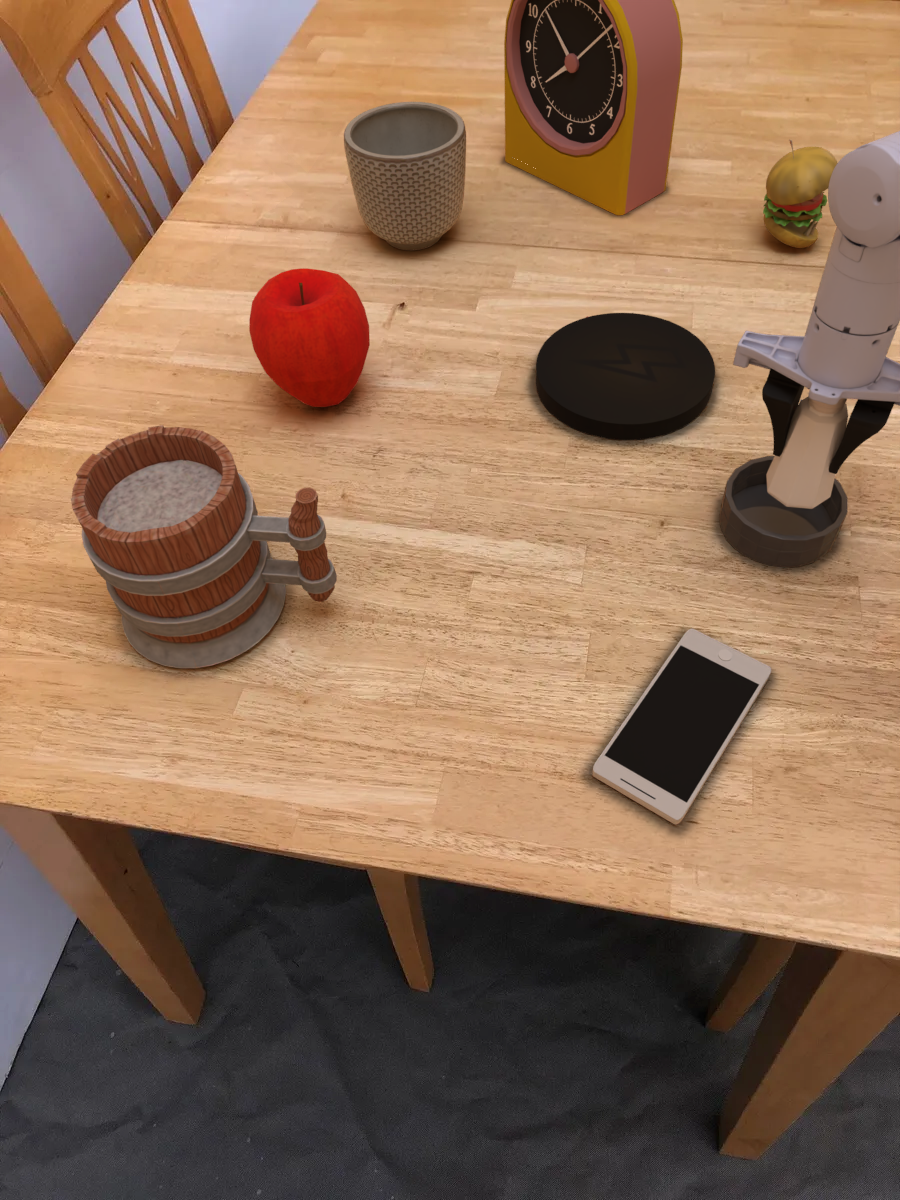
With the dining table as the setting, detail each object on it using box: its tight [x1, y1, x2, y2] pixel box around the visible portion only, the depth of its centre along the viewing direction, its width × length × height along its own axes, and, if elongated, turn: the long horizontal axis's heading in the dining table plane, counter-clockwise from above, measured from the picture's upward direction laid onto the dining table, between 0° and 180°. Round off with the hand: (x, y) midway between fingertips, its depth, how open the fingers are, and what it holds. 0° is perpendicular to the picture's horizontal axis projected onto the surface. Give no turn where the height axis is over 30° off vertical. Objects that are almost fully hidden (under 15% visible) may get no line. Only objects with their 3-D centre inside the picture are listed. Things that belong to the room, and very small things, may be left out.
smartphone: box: [591, 628, 772, 825], centre depth 69 cm, size 7×16×1 cm, turn 144°
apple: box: [248, 267, 371, 408], centre depth 91 cm, size 12×12×13 cm
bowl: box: [718, 455, 849, 568], centre depth 80 cm, size 10×10×4 cm
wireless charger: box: [535, 312, 716, 441], centre depth 94 cm, size 18×18×2 cm
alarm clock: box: [503, 0, 684, 216], centre depth 111 cm, size 21×9×26 cm, turn 42°
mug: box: [70, 424, 338, 669], centre depth 73 cm, size 14×19×15 cm
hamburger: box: [762, 139, 838, 249], centre depth 104 cm, size 8×7×12 cm
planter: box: [343, 101, 467, 252], centre depth 109 cm, size 14×14×13 cm
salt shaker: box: [766, 396, 849, 509], centre depth 73 cm, size 5×5×11 cm
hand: (807, 456), depth 74 cm, fingers closed on salt shaker, 4 cm apart
